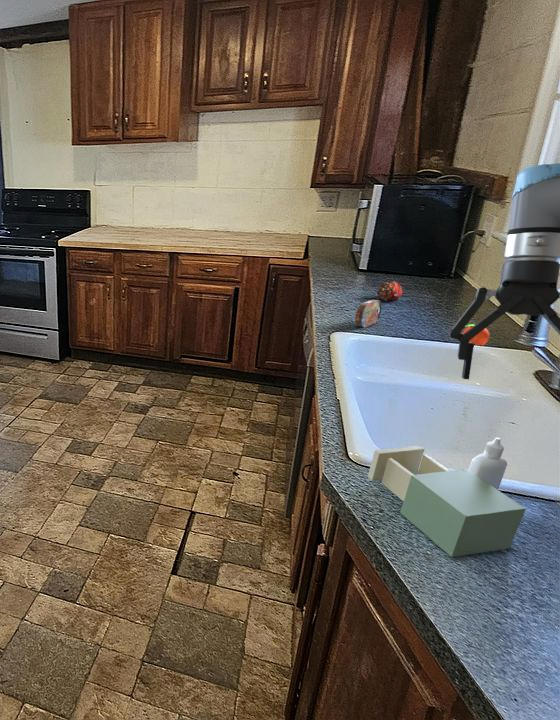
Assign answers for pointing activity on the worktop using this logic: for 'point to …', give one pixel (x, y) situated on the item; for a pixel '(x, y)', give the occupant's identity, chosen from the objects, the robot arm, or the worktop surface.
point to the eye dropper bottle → (490, 464)
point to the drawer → (401, 467)
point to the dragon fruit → (390, 291)
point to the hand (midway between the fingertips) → (512, 383)
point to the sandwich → (368, 313)
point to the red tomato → (479, 336)
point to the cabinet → (461, 512)
